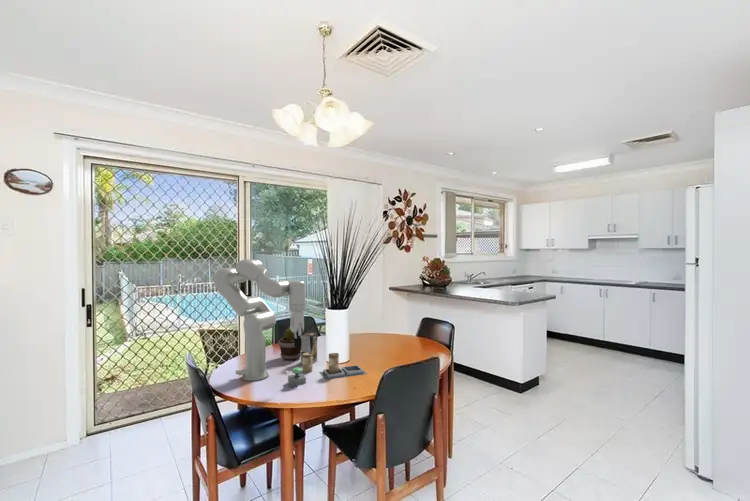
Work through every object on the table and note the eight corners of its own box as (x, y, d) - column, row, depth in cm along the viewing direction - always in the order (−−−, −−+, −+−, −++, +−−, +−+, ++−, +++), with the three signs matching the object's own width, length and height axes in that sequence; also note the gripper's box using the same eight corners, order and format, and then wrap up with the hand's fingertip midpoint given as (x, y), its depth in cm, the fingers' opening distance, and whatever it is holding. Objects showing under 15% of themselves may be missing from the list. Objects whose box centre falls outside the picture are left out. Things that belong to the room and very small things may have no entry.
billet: (303, 375, 183) (303, 355, 183) (301, 372, 188) (301, 352, 188) (313, 374, 185) (313, 354, 185) (311, 371, 190) (311, 351, 190)
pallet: (325, 382, 174) (325, 376, 174) (318, 374, 185) (318, 369, 185) (367, 376, 182) (367, 370, 182) (359, 369, 193) (359, 363, 193)
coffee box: (311, 365, 199) (311, 336, 199) (300, 364, 200) (300, 335, 200) (317, 360, 208) (317, 332, 208) (307, 359, 209) (307, 332, 209)
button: (293, 379, 168) (293, 370, 168) (291, 376, 172) (291, 368, 172) (302, 377, 170) (302, 369, 170) (300, 374, 174) (300, 366, 174)
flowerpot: (282, 354, 220) (282, 321, 220) (307, 355, 218) (307, 322, 218) (273, 361, 205) (273, 326, 205) (300, 362, 204) (300, 327, 204)
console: (290, 387, 167) (290, 380, 167) (288, 382, 173) (288, 375, 173) (305, 385, 169) (305, 378, 169) (302, 380, 176) (302, 373, 176)
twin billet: (330, 376, 178) (330, 355, 178) (327, 373, 183) (327, 352, 183) (340, 375, 180) (340, 354, 180) (337, 372, 185) (337, 351, 185)
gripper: (286, 305, 176) (287, 343, 176) (292, 310, 163) (292, 351, 163) (302, 304, 179) (302, 341, 179) (308, 308, 166) (309, 349, 166)
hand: (297, 346), depth 171 cm, fingers closed
